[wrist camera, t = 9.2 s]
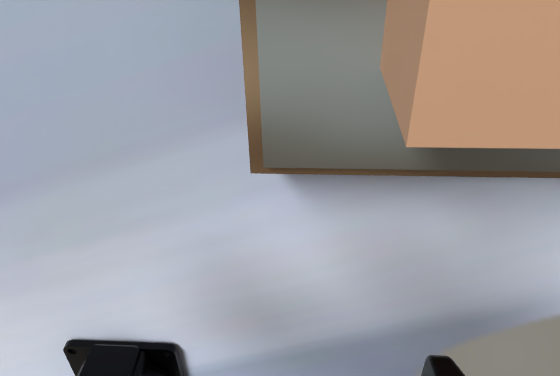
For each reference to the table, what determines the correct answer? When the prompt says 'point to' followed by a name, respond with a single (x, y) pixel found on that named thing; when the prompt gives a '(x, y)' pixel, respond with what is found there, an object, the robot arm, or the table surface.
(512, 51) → the terracotta block
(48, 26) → the table surface
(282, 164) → the wooden framed mirror
